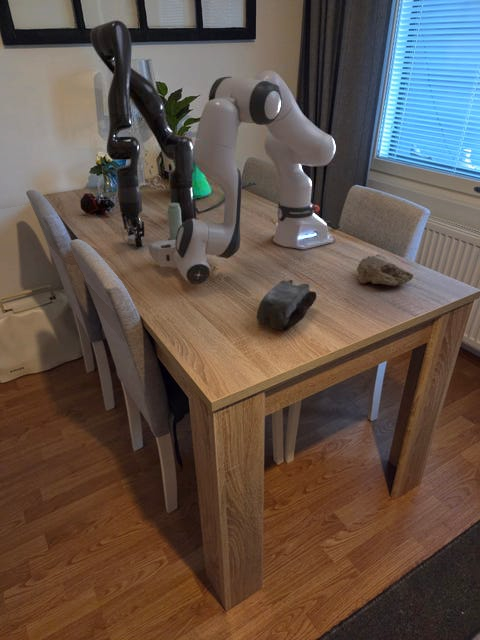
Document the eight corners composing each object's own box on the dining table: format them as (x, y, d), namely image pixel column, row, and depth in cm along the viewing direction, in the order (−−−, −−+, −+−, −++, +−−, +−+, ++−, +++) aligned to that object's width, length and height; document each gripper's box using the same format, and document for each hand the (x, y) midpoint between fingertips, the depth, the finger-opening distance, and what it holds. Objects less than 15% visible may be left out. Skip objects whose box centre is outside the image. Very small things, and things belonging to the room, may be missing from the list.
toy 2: (167, 190, 223) (163, 137, 210) (207, 188, 227) (205, 135, 214) (172, 202, 206) (167, 145, 193) (214, 199, 210) (213, 143, 197)
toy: (107, 186, 182) (78, 185, 188) (99, 205, 180) (70, 204, 185) (122, 203, 193) (95, 201, 198) (115, 222, 190) (87, 220, 196)
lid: (135, 245, 158) (134, 240, 157) (124, 242, 161) (124, 237, 160) (145, 240, 162) (145, 236, 161) (134, 237, 164) (134, 233, 164)
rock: (291, 341, 110) (294, 313, 105) (251, 329, 114) (251, 302, 110) (317, 308, 123) (320, 283, 119) (280, 299, 128) (281, 274, 124)
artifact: (374, 296, 130) (415, 290, 135) (381, 274, 126) (423, 268, 131) (341, 267, 144) (380, 262, 149) (346, 246, 140) (385, 242, 145)
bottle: (182, 253, 156) (178, 201, 147) (185, 257, 153) (181, 205, 143) (170, 255, 155) (165, 203, 145) (173, 259, 152) (168, 206, 142)
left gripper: (111, 195, 156) (118, 240, 165) (128, 205, 146) (134, 253, 155) (131, 191, 160) (136, 236, 169) (149, 201, 150) (154, 248, 159)
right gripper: (216, 240, 142) (204, 226, 153) (152, 248, 136) (145, 233, 147) (217, 258, 145) (205, 243, 156) (154, 267, 139) (147, 251, 150)
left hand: (135, 244), depth 162 cm, fingers open, 5 cm apart
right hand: (175, 238), depth 151 cm, fingers closed on bottle, 4 cm apart
